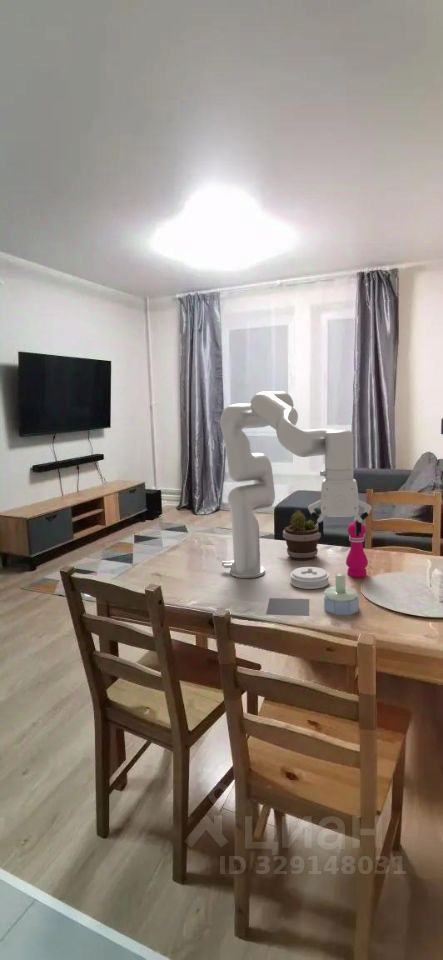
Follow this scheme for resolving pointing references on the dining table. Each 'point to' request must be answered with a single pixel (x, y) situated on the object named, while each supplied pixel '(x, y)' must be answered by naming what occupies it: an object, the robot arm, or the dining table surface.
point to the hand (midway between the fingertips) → (339, 535)
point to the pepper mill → (356, 553)
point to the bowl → (341, 606)
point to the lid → (309, 577)
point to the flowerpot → (301, 538)
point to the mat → (288, 606)
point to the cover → (340, 590)
